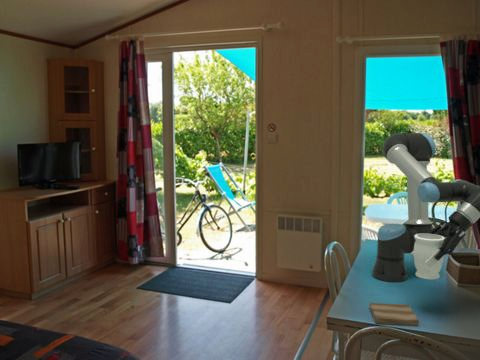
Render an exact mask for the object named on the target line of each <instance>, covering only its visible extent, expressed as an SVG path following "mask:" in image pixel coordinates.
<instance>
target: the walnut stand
mask: <svg viewBox="0 0 480 360" xmlns="http://www.w3.org/2000/svg"><path fill="white" fill-rule="evenodd" d="M369 310H370V312H371V315H372V317H373V319H374V322H375V324H376V325H387V326H388V325H389V326H390V325H392V326H408V327H410V326H411V327H419V326H420V325H419V324H420V321H419V319H418V317H417V315H416V314H415V313H414V310H412V308H411V306H410V305H409V304H403V303H401V304H400V303H399V304H398V303H382V302H381V303H378V302H377V303H376V302H369Z"/></svg>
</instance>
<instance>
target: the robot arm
mask: <svg viewBox="0 0 480 360" xmlns="http://www.w3.org/2000/svg"><path fill="white" fill-rule="evenodd" d="M436 150H437V149H436V143H435V141H434V138H433V137H432V136H431V135H430V134H428V133H425V132H424V133H422V132H421V133H420V132H411V133H410V132H408V133H407V132H397V133H393V134H391V135H389V136H388V137H387V138H386V139H385V140H384V142H383V145H382V154H383V156H384V158H385V159H386V160H387V161H388V163H390V164H393V165H394V166H396V167H397V168H398V169H399V170H400V172H402V173H403V175H404V176H405V177H406V188H407V189H406V190H407V191H406V192H407V214H408V215H407V216H408V217H407V220H406V221H405V223H404V224H402V223H401V224H400V223H388V224H384V225H382V226H380V227H379V228H378V231H377V245H376V246H377V247H376V260H375V262H374V265H373V267H372V270H371V274H372V275H371V276H372V277H373V278H375V279H377V280H380V281H383V282H392V283H397V282H398V283H400V282H403V281H404V282H405V281H406V280H408V271H407V267H406V264H405V254H411V256H413V257H414V244H415V241H416V239H415V238H414V235H416V234H421V233H428V234H436V235H440V236H443V237H444V238H445V240H444V242H443V245H442V247H441V248H439V249H440V250H441V251H440V250H439V249H438V250H437V251H436V252H435V253H434V254H433V255H432V256H431V257H430V258H429V259H428V260H427V261H426V262H425V263H426V264H427V265H428V266H429V267H432V266H433V265H434V264H435V263H436V262H437V261H438V260H440V259H441V258H442V257H443V256H444V257H445V255H447V256H448V255H449V256H451V255H452V254H453V252H454V251H455V249H456V248H457V246H458V245H459V243H460V242H461V240H462V239H463V238H465V236H466V233H465V232H467V231H468V230H469V229H470V228H471V227H472V224H475V223H476V222H477V221H478V220H479V219H480V185H476V184H474V183H472V182H469V181H467V180H463V179H454V180H453V181H447V182H445V181H444V182H442V181H441V182H440V181H439V180H438V179H437V178H436V177H435V176H434V175H433V174H432V173H431V172H430V171H429V170H428V165H429V164H430V163H431V159H432V158H433V157H434V156H435V153H436ZM450 202H451V203H454V202H455V203H457V202H459V203H460V202H461V204H460V205H459V206H458V207H457V208H456V210H455V211H453V212H452V213H450V215H449V216H448V221H449V222H447V223H445V222H444V221H440V223H439V224H438V225H437V226H433V222H432V221H431V220H430V219H429V203H430V204H433V203H450Z"/></svg>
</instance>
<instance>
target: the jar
mask: <svg viewBox="0 0 480 360" xmlns="http://www.w3.org/2000/svg"><path fill="white" fill-rule="evenodd" d="M414 238H415V239H416V241H415V244H414V256H413V259H414V267H415V269H416V271H415V276H416V277H418V278H420V279H423V280H438V279H439V278H441V276H440V271H441V269H442V267H443V261H444V257H445V255H444V256H443V257H442V258H441V259H440V260H438V261H437V262H436V263H435V264H434V265H433V266H432V267H429V266H428V265H427V264H426V263H425V262H426V261H427V260H428V259H429V258H430V257H431V256H432V255H433V254H434V253H435V252H436V251H437V250H438V249H439V248H441V247H442V245H443V242H444V240H445V238H446V237H445V238H444V237H443V236H440V235H436V234H428V233H421V234H416V235H414ZM439 250H440V249H439ZM440 251H441V250H440Z"/></svg>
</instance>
